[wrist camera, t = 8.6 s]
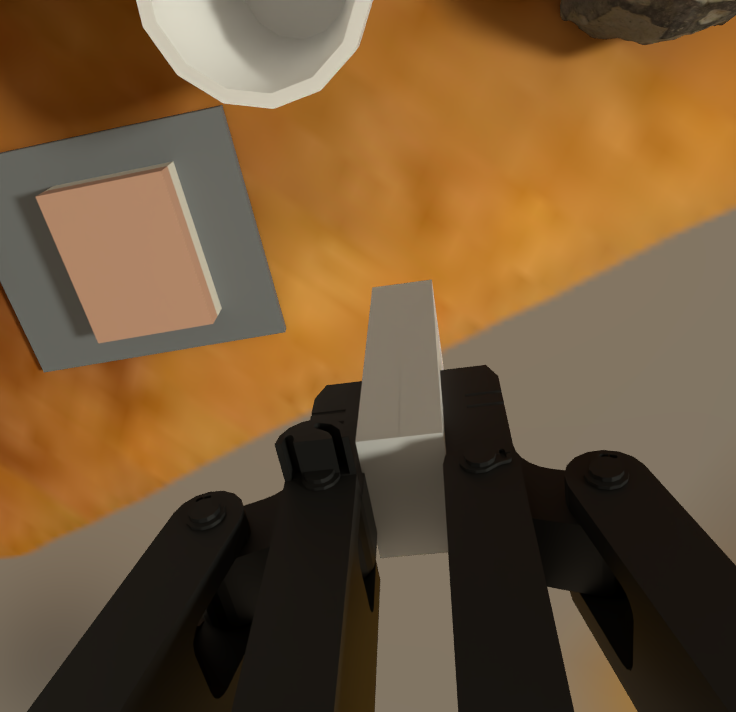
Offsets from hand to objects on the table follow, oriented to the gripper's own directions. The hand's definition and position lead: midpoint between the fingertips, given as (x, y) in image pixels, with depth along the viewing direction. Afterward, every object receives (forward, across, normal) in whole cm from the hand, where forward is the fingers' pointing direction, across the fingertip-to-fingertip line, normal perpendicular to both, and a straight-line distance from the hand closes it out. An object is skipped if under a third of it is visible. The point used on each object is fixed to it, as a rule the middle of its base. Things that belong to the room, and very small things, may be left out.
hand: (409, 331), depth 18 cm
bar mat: (+27, -20, -5) cm, 34 cm away
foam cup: (+28, -5, +8) cm, 29 cm away
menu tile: (+25, -14, -5) cm, 29 cm away
